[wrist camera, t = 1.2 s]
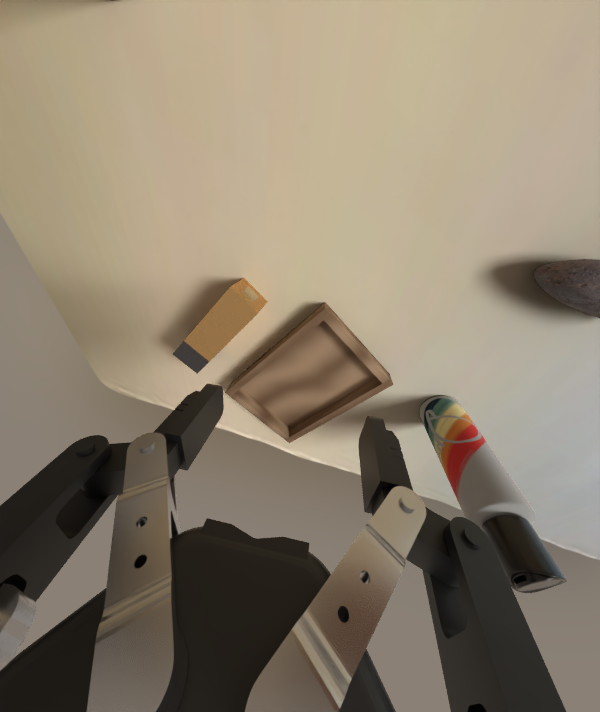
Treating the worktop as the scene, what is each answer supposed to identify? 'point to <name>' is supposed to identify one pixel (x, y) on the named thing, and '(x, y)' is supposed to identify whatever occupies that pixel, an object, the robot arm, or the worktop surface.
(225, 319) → the battery cell
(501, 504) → the lotion bottle
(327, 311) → the brown wooden tray
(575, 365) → the worktop surface
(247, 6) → the worktop surface
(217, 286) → the worktop surface
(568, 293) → the perforated stone tool
